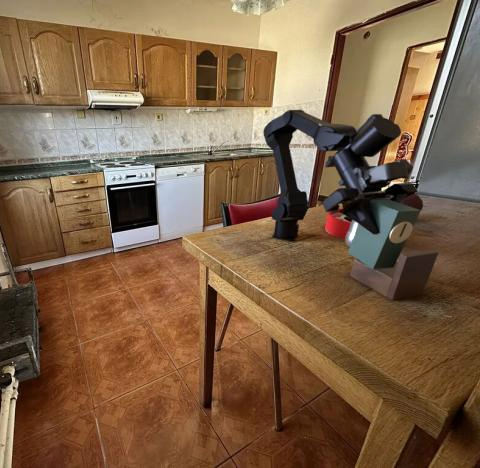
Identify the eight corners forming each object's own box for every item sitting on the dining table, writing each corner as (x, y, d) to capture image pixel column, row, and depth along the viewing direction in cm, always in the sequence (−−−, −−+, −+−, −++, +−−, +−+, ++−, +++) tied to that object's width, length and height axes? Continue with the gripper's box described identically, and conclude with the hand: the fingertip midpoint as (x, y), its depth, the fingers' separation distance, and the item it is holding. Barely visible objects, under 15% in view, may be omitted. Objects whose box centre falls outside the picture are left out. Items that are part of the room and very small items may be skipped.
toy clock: (332, 205, 99) (399, 213, 88) (329, 220, 101) (395, 229, 90) (324, 219, 84) (404, 230, 73) (320, 235, 87) (398, 249, 75)
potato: (373, 217, 102) (380, 192, 98) (391, 212, 107) (399, 188, 103) (406, 225, 93) (415, 197, 89) (425, 219, 98) (435, 193, 94)
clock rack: (349, 276, 62) (359, 238, 59) (376, 271, 64) (387, 234, 60) (392, 300, 53) (407, 257, 50) (422, 294, 55) (439, 252, 51)
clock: (347, 252, 60) (367, 199, 54) (366, 251, 61) (387, 198, 55) (374, 270, 53) (400, 212, 48) (395, 268, 54) (423, 211, 48)
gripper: (345, 147, 50) (385, 218, 44) (422, 143, 53) (468, 209, 47) (310, 181, 60) (338, 242, 54) (376, 176, 63) (409, 233, 57)
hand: (387, 232), depth 53 cm, fingers closed on clock, 5 cm apart
